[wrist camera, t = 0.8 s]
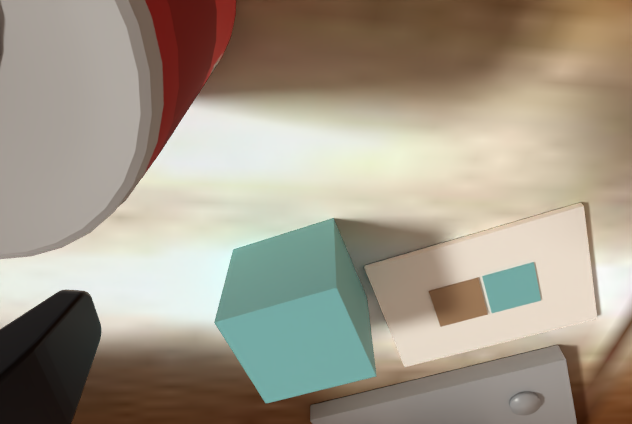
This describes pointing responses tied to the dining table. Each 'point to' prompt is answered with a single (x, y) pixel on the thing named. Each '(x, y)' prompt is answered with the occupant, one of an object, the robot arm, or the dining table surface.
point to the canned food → (92, 105)
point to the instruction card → (488, 286)
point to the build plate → (467, 396)
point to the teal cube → (297, 313)
